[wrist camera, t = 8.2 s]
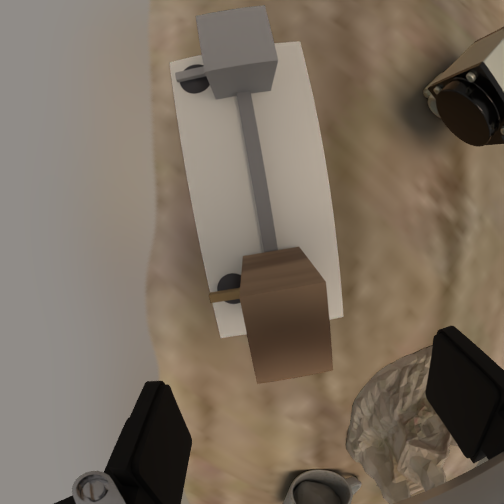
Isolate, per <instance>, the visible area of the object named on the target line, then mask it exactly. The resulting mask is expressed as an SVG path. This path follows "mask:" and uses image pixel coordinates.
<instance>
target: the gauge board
mask: <svg viewBox="0 0 504 504" xmlns="http://www.w3.org/2000/svg"><path fill="white" fill-rule="evenodd" d="M196 21H197V28H198V34H199V40H200V47H201V53H202V55H198V56H194V57H189V58H185V59H181V60H177V61H173V62H169V64H170V71H171V79H172V86H173V94H174V101H175V107H176V114H177V121H178V127H179V133H180V140H181V146H182V152H183V158H184V164H185V169H186V175H187V181H188V186H189V192H190V197H191V202H192V208H193V213H194V218H195V223H196V228H197V233H198V238H199V243H200V248H201V253H202V258H203V262H204V267H205V272H206V276H207V281H208V285H209V290H210V292H216V291H223V290H229V289H235V288H240V283H241V271H242V260H243V256H246V255H252V254H258V253H264V252H270V251H276V250H282V249H288V248H293V247H300V248H301V250H302V251H303V252H304V254H305V255H306V256H307V258H308V259H309V260H310V261H311V263H312V264H313V265H314V267H315V268H316V269H317V271H318V272H319V273H320V275H321V276H322V277H323V279H324V280H325V281H326V288H327V298H328V309H329V320H330V319H335V318H340V317H343V304H342V291H341V279H340V268H339V258H338V248H337V239H336V231H335V223H334V215H333V207H332V200H331V193H330V186H329V180H328V173H327V167H326V161H325V155H324V149H323V144H322V138H321V133H320V128H319V123H318V117H317V112H316V108H315V103H314V98H313V93H312V89H311V84H310V80H309V76H308V71H307V67H306V63H305V59H304V55H303V51H302V47H301V43H300V41H298V42H285V43H274V40H273V36H272V32H271V28H270V24H269V20H268V16H267V12H266V8H265V5H263V6H254V7H245V8H238V9H231V10H225V11H219V12H213V13H208V14H203V15H198V16H196ZM213 307H214V312H215V316H216V320H217V324H218V329H219V333H220V337H221V338H224V337H232V336H239V335H245V334H247V332H246V327H245V323H244V318H243V313H242V308H241V303H240V299H235V300H228V301H222V302H215V303H213Z"/></svg>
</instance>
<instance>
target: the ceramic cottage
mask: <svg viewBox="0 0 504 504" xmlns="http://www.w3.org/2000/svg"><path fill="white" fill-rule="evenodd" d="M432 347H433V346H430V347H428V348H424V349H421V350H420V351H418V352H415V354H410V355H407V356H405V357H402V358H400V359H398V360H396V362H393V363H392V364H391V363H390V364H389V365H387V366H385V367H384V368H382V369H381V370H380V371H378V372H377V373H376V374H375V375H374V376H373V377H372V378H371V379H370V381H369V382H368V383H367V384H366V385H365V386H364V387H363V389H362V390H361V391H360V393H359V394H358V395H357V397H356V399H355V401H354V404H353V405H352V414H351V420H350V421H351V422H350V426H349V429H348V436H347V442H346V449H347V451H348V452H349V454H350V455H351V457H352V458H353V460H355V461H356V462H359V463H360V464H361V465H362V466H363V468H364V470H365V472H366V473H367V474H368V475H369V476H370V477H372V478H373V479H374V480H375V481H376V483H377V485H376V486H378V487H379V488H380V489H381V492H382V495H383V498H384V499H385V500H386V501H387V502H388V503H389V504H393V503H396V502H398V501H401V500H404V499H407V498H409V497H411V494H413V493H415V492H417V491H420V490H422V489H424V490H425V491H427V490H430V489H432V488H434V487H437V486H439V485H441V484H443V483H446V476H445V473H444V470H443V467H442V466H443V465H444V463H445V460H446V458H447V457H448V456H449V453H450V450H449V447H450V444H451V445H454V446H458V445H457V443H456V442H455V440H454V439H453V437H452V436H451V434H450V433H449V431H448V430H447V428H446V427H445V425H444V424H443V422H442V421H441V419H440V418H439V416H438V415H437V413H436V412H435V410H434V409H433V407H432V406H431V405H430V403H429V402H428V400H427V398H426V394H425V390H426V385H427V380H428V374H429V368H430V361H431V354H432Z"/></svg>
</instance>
